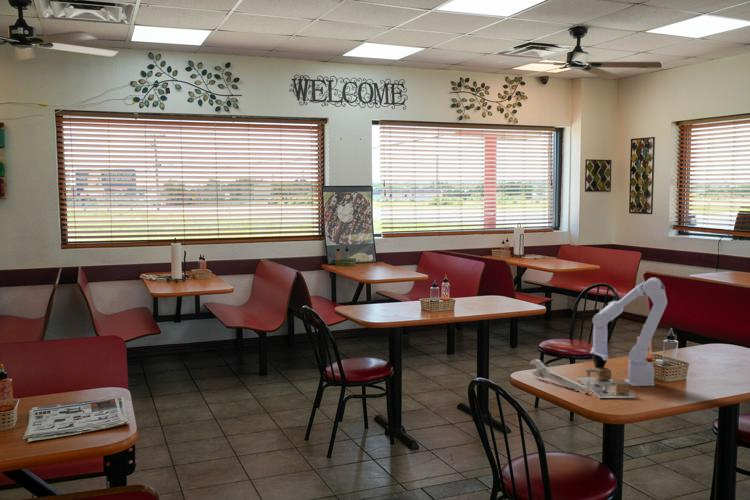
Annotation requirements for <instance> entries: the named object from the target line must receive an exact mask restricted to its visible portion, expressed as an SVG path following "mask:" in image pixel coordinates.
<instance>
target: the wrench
mask: <svg viewBox="0 0 750 500" xmlns="http://www.w3.org/2000/svg"><path fill="white" fill-rule="evenodd" d="M529 365H535V367H536V370H532V371H531V373H532V374H533V376H535V375H536V376H538V377H541V378H543V379H546V378H547V379H550V380H551V381H554V382H556V383H558V384H560V385H562V386H565V387H566V388H569V389H571V388H572V389H571V390H573V389H576V390H578V391H584V390H585V391H584V392H585V393H588V394H589V393H590V391H589V389H588V388H587V387H586V386H584V385H582V384H581V383H580V382H578V381H574V380H572V379H571V378H567V377H565V376H564V375H560V374H558V373H556V372H555V371H552V370H550V369H549V368H548V367H547V366H546V365H545V364H544V363H543V361H542V360H540V359H533V360H531V361H530V362H529ZM536 376H535V377H536ZM538 377H537V378H538Z"/></svg>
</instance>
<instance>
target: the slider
mask: <svg viewBox="0 0 750 500" xmlns="http://www.w3.org/2000/svg"><path fill="white" fill-rule="evenodd" d="M583 372H584V373H587V376H586V377H591V373H594V377H596V378H598V379H599V380H601V379H611V378H612V370H611V369H610V368H609V367H604V368H595V367H594V368H590V369H587V368H586V369H584V371H583Z"/></svg>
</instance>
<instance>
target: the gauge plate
mask: <svg viewBox="0 0 750 500" xmlns="http://www.w3.org/2000/svg"><path fill="white" fill-rule="evenodd" d="M577 379H578V380H580V381H581V382H582V383H583V384H584V385H585V386H586V387H588V388H589V389H590V390H591V391H592V392H593V393H594V394H596V395H597V396H598V397H599V398H636V395H635V394H634V393H632V392H631V391H630V384H629V383H627V382H626V381H625V379H617V380H615V379H613V378H612V377H611V379H601V380H599V379H598V378H596V377H595V376H590V377H587V376H579V377H578V376H576V380H577ZM578 380H577V381H578ZM592 392H591V393H592ZM593 393H592V394H593ZM594 394H593V395H594ZM599 398H598V399H599Z"/></svg>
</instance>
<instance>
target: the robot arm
mask: <svg viewBox="0 0 750 500" xmlns="http://www.w3.org/2000/svg"><path fill="white" fill-rule="evenodd" d="M665 288H666V287H665V285H664V283H663V282H662V280H661V279H660V278H657V277H656V276H655V277H649V278H648V279H646V281H643V282H641V283H639V284H637V285H636V286H635V287H634V288H633V289H631V290H629V292H628V293H626V294H625V295H624V296H623V297H622V298H620V299H619V300H612V301H609V302H607V305H606V306H605V307H604V308H603V309H602V308H600V310H599V312H598V313H596V314H594V315H593V317H592V320H591V321H592V324H593V329H592V347H591V350H590V351H589V354H590V355H591V354H592V355H591V359H592V362H593V363H594V369H595V368H605V365H606V363H607V361H609V359H610V358H609V357H610V355H608V324H609V322H612V321H613V320H614V319H615V318H617V317H618V316H620V315H621V314H622V313H623V311H624V307H626V306H627V305H628V304H630V303H631V302H632V301H633V300H635V299H637V298H638V297H643V296H647V297H648V298H649V299H650V300H651V303H652V304H653V305H652V307H651V309H650V311H649V314H648V316H647V318H646V321H645V322H644V324H643V328H642V329H641V332H640V335H639V337H638V338H637V340H636V343H635V345H634V346H632V348H631V349H630V351H629V352H628V358H629V359H628V370H627V371H628V376H627V377H628V378H627V379H624V380H625V381H626V382H627V383H629V386H632V387H644V386H645V387H651V386H654V387H655V366H654V363H652V362H650V361H648V360H647V358H646V357H647V356H648V355H649V346H650V343H651V341H652V339H653V337H654V335H655V332H656V330H657V327H658V325H659V323H660V321H661V318H662V316H663V314H664V312H665V310H666V309H667V305H668V298H667V295H666V294H667V293H666V289H665Z"/></svg>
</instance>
